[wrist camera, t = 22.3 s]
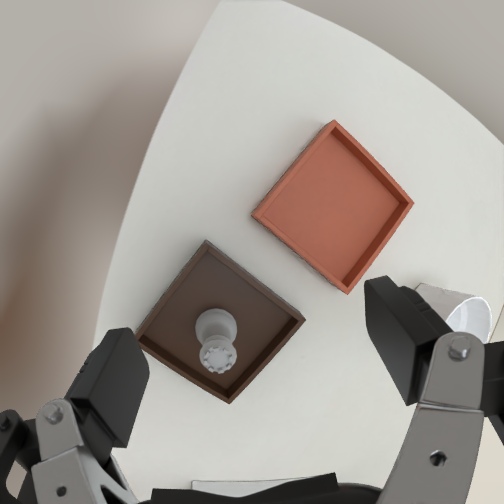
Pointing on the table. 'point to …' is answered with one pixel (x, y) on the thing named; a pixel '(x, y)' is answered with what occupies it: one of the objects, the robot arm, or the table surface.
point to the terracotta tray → (335, 207)
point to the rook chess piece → (216, 339)
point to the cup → (459, 310)
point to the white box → (237, 487)
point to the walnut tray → (225, 298)
